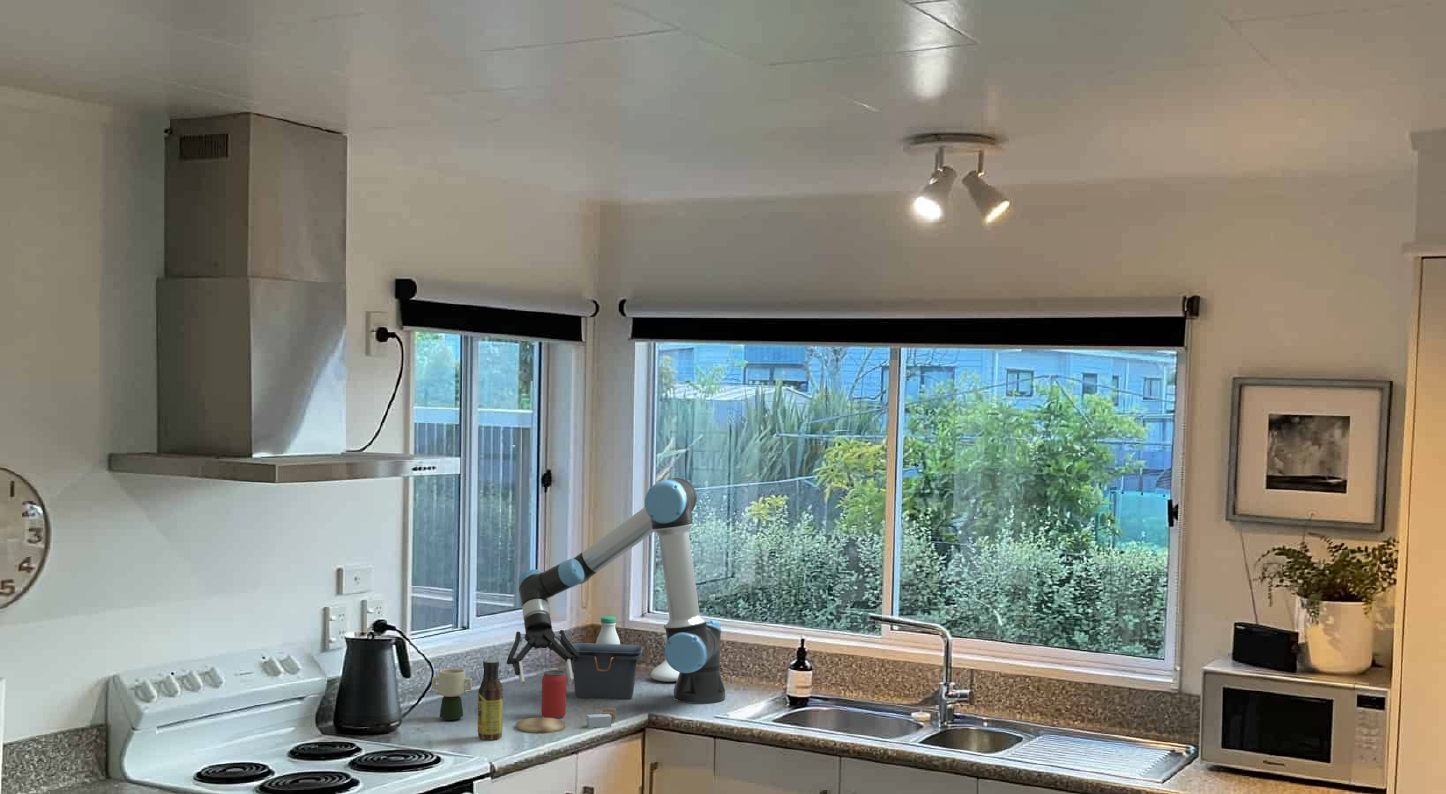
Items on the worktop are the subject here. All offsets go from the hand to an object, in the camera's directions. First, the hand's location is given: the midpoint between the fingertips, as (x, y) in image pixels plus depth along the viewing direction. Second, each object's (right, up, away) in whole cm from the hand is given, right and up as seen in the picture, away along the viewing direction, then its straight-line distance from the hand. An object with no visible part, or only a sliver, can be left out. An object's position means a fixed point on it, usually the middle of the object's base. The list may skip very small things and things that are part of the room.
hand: (547, 682), depth 377 cm
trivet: (0, -8, -15) cm, 18 cm away
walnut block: (+17, -9, -7) cm, 21 cm away
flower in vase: (+32, -9, +48) cm, 58 cm away
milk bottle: (+13, -9, +43) cm, 45 cm away
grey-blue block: (+15, -9, -13) cm, 22 cm away
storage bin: (+14, -9, +23) cm, 28 cm away
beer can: (+2, -9, -3) cm, 9 cm away
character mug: (-25, -8, -9) cm, 27 cm away
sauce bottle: (-11, -8, -28) cm, 31 cm away
